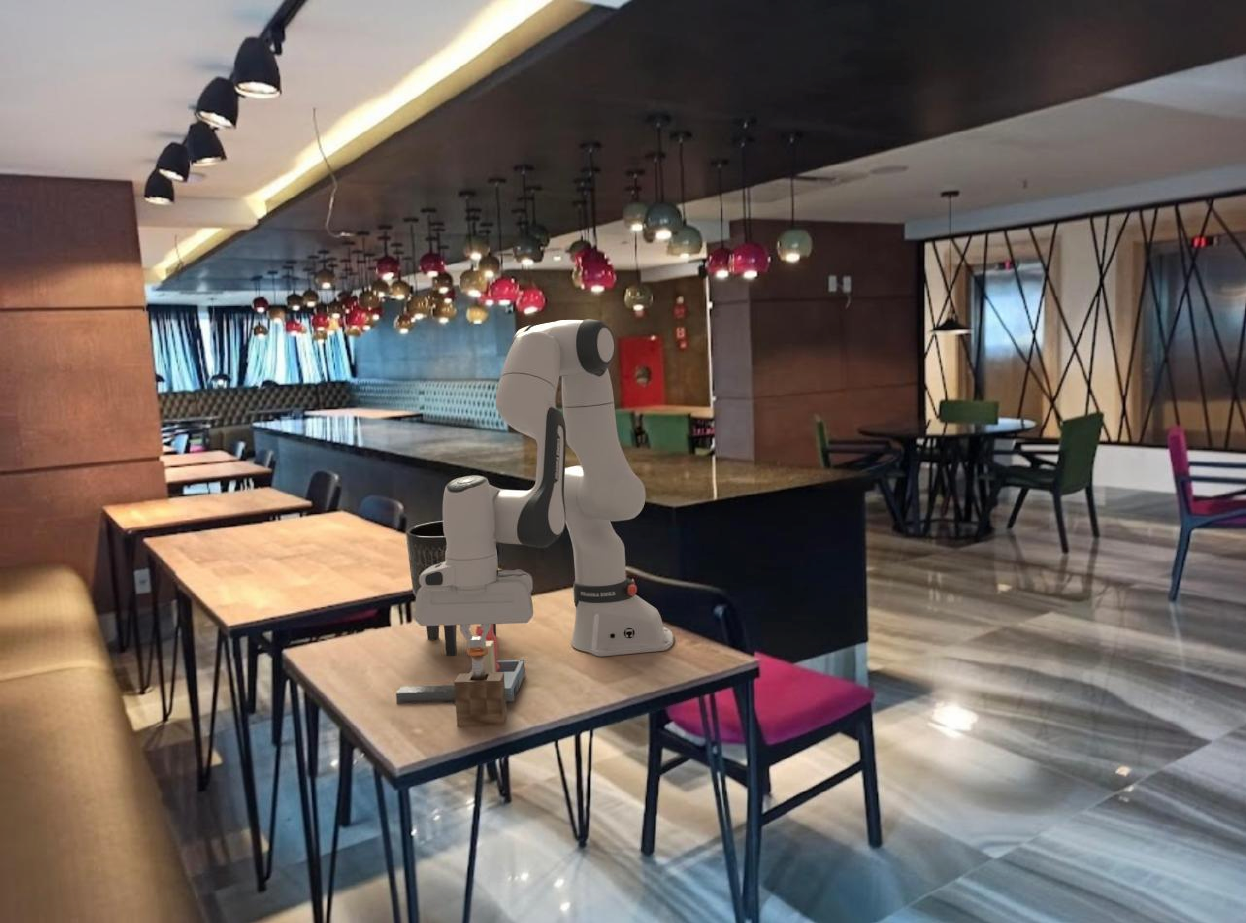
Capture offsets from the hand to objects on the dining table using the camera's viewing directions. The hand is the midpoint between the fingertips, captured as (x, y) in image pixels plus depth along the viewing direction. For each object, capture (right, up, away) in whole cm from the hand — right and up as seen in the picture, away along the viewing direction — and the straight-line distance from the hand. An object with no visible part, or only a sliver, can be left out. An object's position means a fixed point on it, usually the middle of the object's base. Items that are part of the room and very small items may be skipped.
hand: (477, 648), depth 157 cm
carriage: (+1, -11, +16) cm, 19 cm away
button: (0, -7, +1) cm, 7 cm away
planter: (-12, -8, +45) cm, 48 cm away
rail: (-6, -12, +12) cm, 18 cm away
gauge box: (+1, -13, +2) cm, 13 cm away
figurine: (-1, -11, +19) cm, 22 cm away
